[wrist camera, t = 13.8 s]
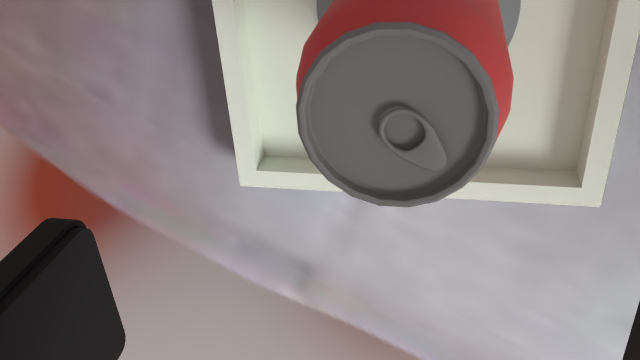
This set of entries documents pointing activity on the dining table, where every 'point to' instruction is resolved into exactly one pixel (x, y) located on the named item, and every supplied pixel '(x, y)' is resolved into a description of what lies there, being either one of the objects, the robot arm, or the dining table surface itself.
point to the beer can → (403, 96)
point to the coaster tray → (522, 122)
